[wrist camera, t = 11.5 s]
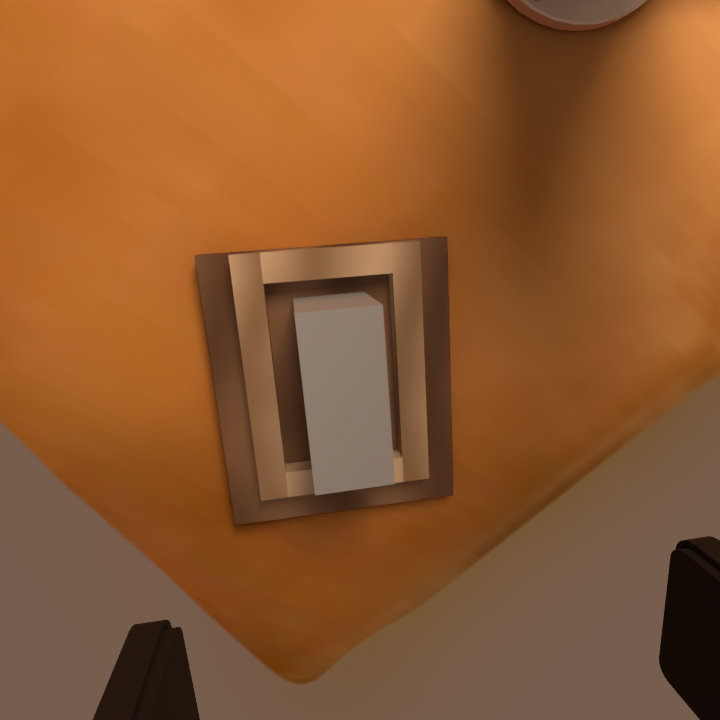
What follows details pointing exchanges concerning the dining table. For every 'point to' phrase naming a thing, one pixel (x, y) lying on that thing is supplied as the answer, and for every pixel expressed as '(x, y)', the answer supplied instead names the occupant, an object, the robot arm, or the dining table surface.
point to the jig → (283, 374)
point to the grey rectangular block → (345, 390)
